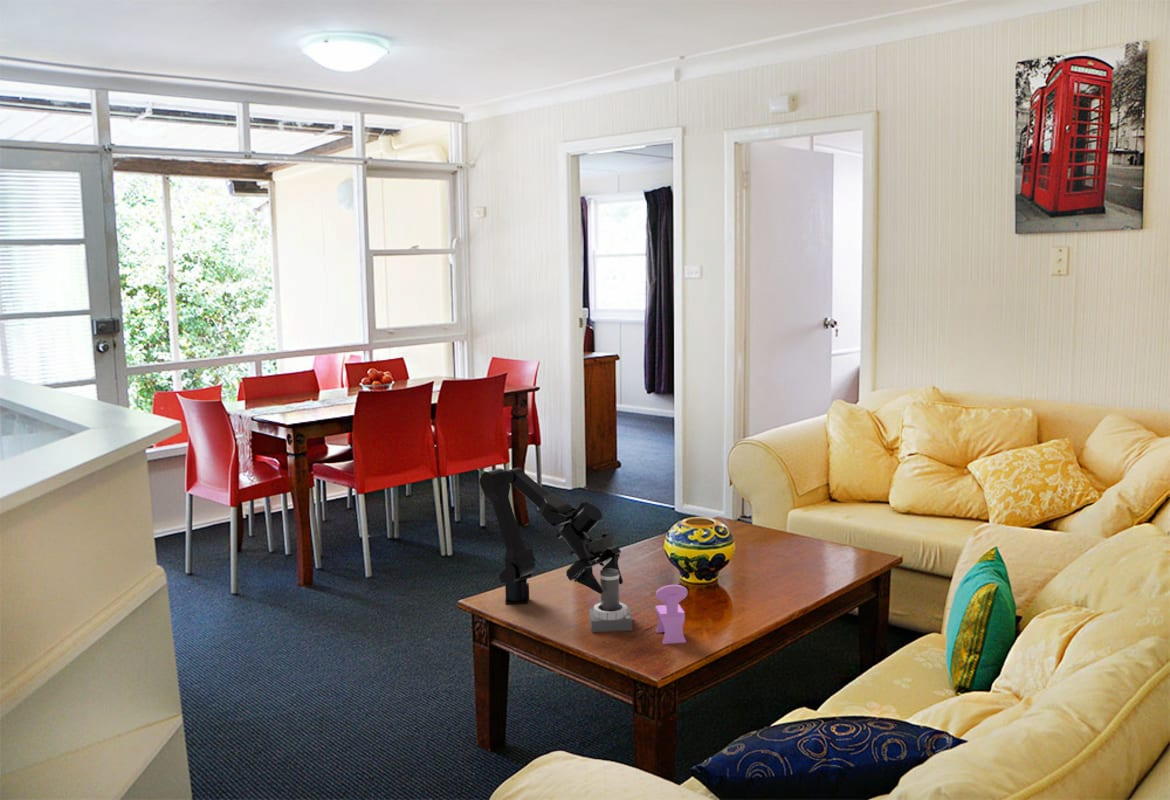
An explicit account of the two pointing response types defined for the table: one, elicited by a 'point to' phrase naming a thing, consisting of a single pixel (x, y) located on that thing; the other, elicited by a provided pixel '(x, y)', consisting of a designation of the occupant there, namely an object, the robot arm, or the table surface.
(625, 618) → the ringed square flange
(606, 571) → the grey domed cylinder
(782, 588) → the table surface
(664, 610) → the toy chair
